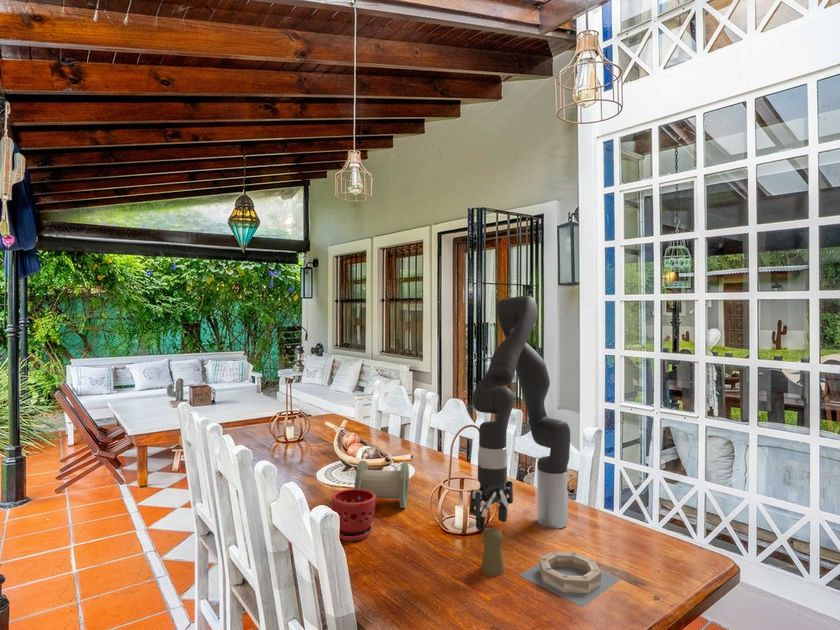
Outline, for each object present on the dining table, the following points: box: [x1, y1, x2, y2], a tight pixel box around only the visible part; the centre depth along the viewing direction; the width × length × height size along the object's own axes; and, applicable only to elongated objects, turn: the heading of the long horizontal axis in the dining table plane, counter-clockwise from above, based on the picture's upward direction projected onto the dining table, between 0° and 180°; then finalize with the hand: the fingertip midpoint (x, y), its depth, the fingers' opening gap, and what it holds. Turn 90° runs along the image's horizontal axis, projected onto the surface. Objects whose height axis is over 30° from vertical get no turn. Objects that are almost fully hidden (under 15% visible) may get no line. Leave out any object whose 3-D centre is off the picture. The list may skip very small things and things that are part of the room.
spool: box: [354, 460, 410, 509], centre depth 173 cm, size 16×15×15 cm
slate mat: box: [518, 563, 621, 608], centre depth 126 cm, size 18×18×1 cm
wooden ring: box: [538, 551, 602, 593], centre depth 126 cm, size 14×14×3 cm
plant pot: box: [331, 488, 377, 542], centre depth 151 cm, size 13×13×12 cm
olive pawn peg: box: [480, 527, 505, 577], centre depth 129 cm, size 6×6×11 cm
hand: (491, 525), depth 129 cm, fingers open, 8 cm apart
